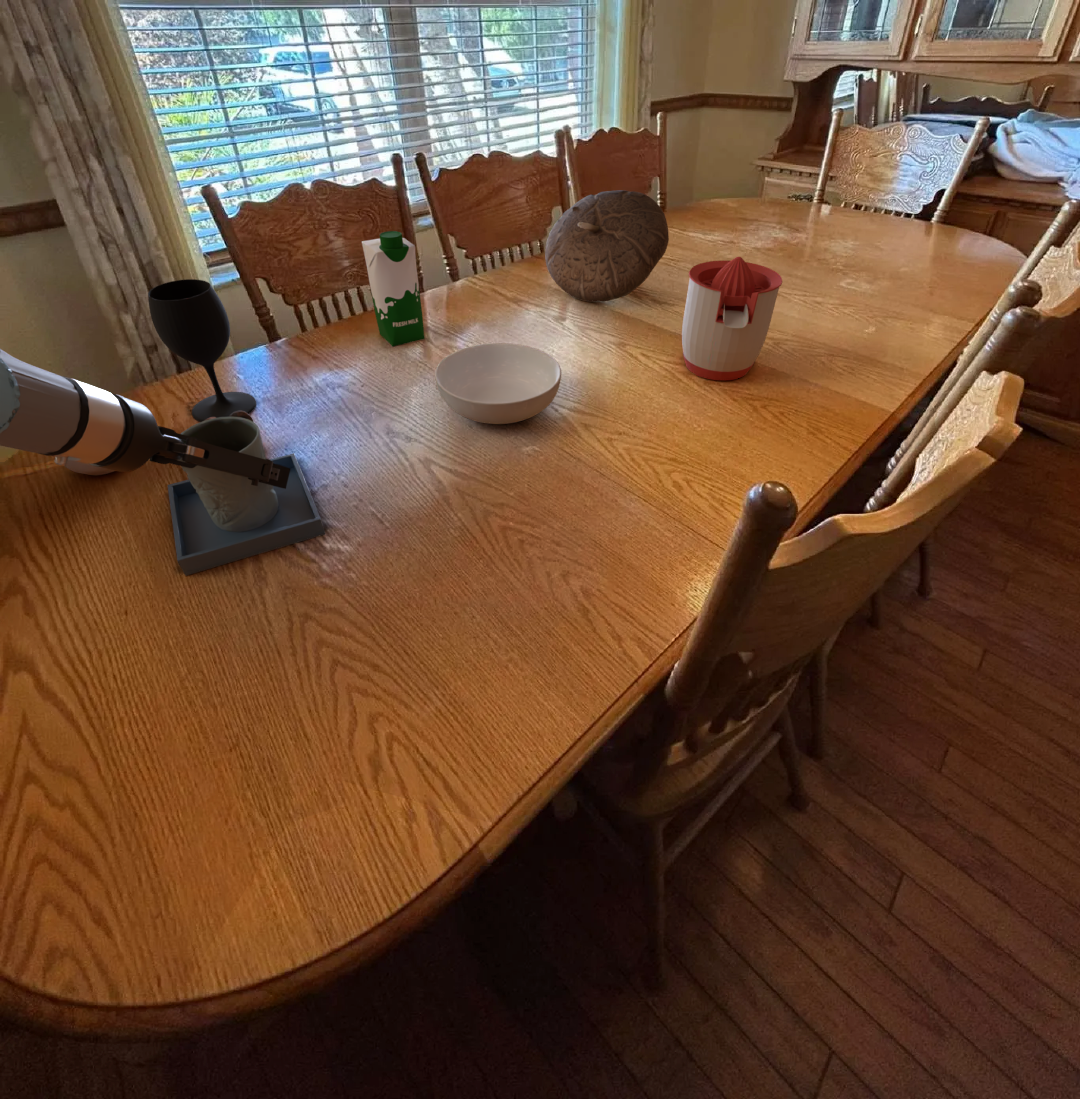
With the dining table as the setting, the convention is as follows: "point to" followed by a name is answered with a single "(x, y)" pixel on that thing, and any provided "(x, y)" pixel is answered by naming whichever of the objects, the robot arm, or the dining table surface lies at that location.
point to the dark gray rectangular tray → (214, 546)
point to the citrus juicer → (727, 317)
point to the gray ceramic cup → (232, 476)
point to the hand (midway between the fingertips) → (241, 468)
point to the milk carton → (394, 288)
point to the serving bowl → (498, 382)
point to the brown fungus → (606, 245)
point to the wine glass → (197, 337)
